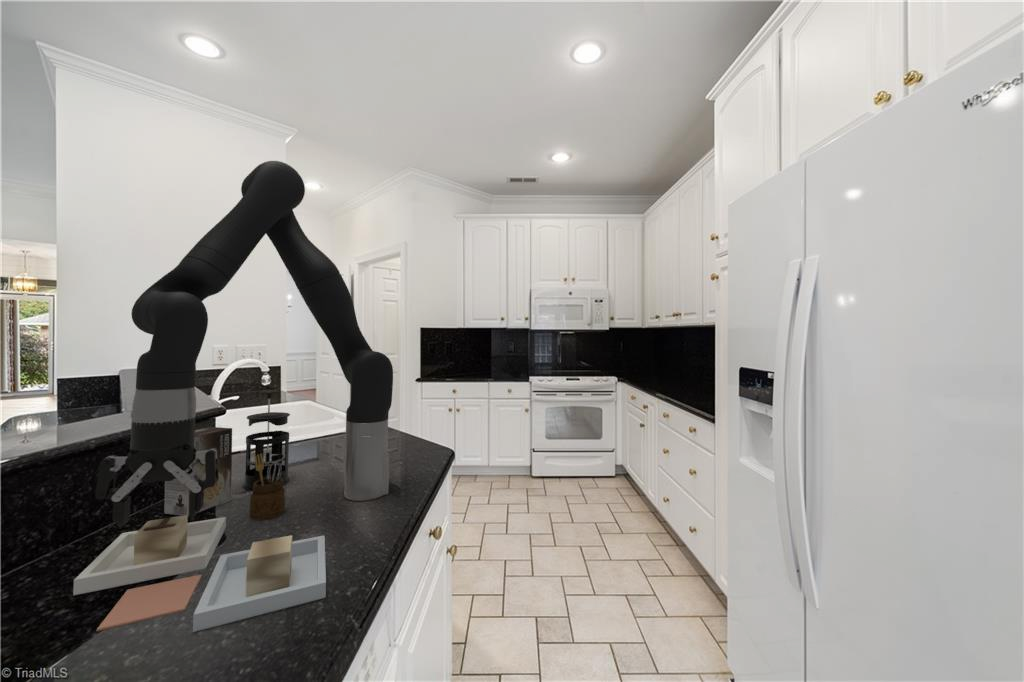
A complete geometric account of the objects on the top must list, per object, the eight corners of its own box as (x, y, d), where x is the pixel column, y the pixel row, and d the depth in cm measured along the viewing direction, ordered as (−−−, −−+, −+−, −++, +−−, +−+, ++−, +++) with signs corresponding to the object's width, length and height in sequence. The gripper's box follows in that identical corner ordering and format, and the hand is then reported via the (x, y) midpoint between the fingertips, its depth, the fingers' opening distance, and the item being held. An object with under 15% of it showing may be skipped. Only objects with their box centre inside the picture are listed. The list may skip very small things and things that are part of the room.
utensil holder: (263, 525, 71) (265, 462, 72) (241, 519, 74) (243, 458, 74) (291, 512, 77) (293, 454, 77) (269, 507, 79) (271, 450, 79)
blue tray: (324, 550, 63) (324, 535, 63) (325, 601, 51) (325, 582, 51) (220, 572, 57) (220, 555, 57) (192, 637, 44) (193, 614, 44)
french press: (278, 491, 88) (281, 393, 89) (233, 493, 86) (236, 393, 87) (297, 474, 100) (299, 387, 100) (258, 475, 98) (260, 387, 98)
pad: (201, 579, 55) (201, 574, 55) (184, 615, 48) (184, 608, 48) (127, 595, 51) (127, 589, 51) (96, 636, 44) (96, 629, 44)
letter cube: (186, 545, 63) (187, 513, 63) (176, 560, 59) (177, 526, 59) (147, 552, 61) (148, 519, 61) (133, 568, 56) (134, 533, 56)
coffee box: (208, 498, 83) (210, 425, 84) (232, 501, 82) (234, 427, 82) (162, 516, 74) (164, 435, 75) (188, 520, 73) (190, 437, 73)
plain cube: (291, 568, 57) (292, 535, 57) (289, 587, 53) (290, 551, 53) (251, 577, 55) (252, 542, 55) (245, 597, 50) (246, 560, 50)
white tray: (225, 531, 69) (226, 516, 69) (205, 572, 57) (205, 554, 57) (121, 548, 63) (122, 533, 63) (73, 599, 50) (73, 579, 50)
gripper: (225, 410, 67) (220, 502, 66) (115, 414, 60) (110, 516, 60) (214, 418, 60) (209, 520, 60) (89, 423, 54) (83, 538, 53)
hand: (159, 518), depth 60 cm, fingers open, 8 cm apart
